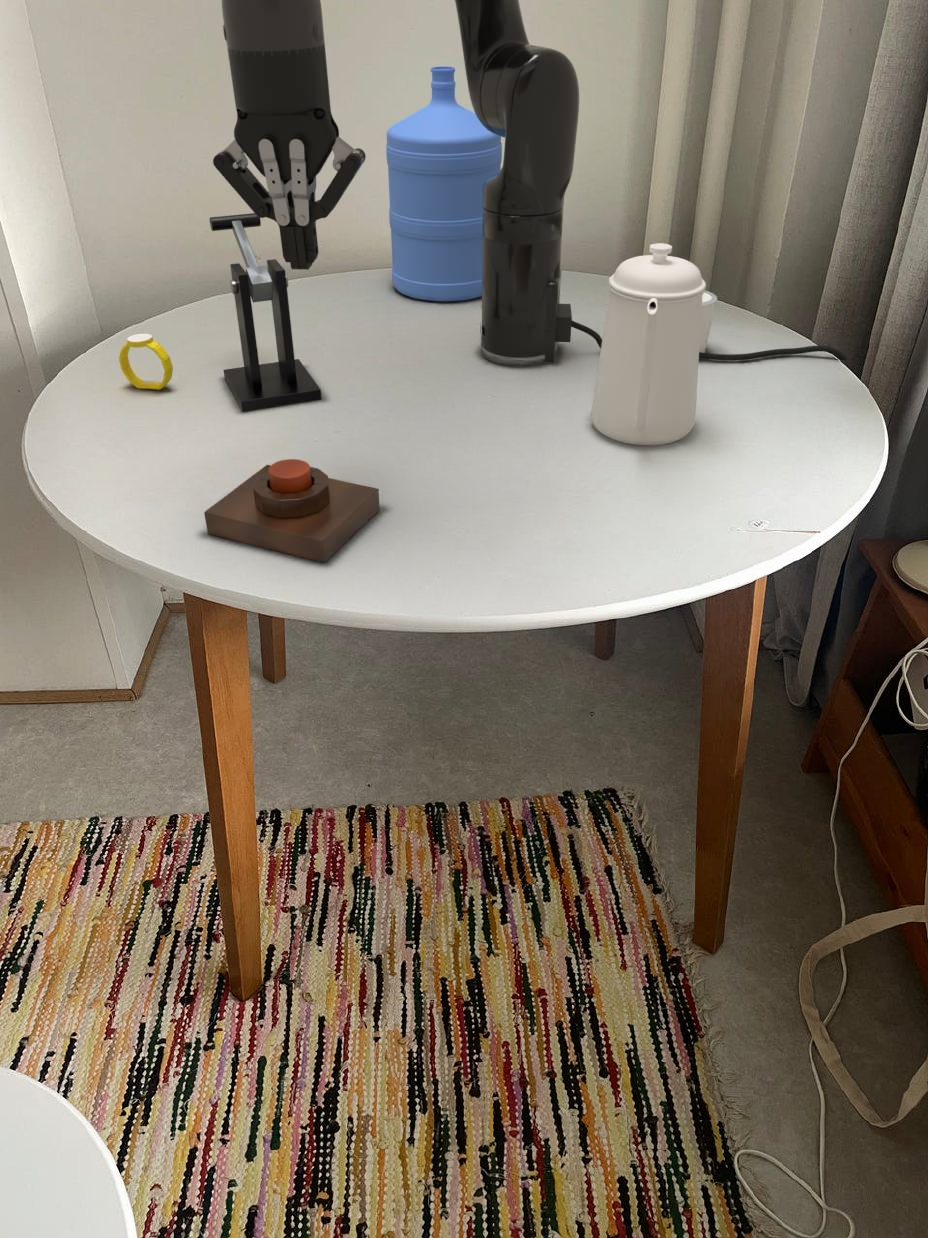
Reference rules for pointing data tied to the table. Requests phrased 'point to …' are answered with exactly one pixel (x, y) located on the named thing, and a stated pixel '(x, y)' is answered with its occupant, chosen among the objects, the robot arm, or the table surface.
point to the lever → (247, 253)
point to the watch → (148, 341)
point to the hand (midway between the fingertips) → (302, 266)
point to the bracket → (288, 375)
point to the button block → (294, 515)
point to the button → (290, 476)
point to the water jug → (439, 196)
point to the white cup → (706, 318)
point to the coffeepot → (650, 350)
